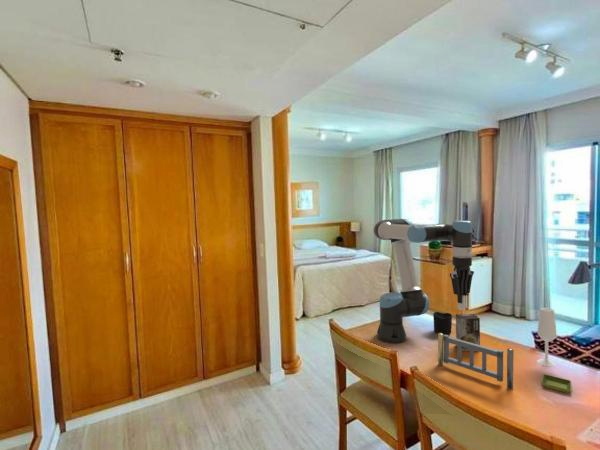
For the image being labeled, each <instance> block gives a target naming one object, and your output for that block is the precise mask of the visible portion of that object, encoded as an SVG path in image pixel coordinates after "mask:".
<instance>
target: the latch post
mask: <svg viewBox="0 0 600 450" xmlns="http://www.w3.org/2000/svg"><path fill="white" fill-rule="evenodd" d="M443 336H444V335H443V334H442V333H437V341H438V342H437V344H438V345H437V347H438V349H437V351H438V355H437V356H438V357H437V358H438V359H437V360H438V361H437V362H438V366H441V367H442V366H444V339H443Z"/></svg>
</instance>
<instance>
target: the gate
mask: <svg viewBox="0 0 600 450" xmlns="http://www.w3.org/2000/svg"><path fill="white" fill-rule="evenodd" d="M450 344H452V345H458V347H457V359H456V358H454V357H450ZM462 347H465V348H468V349H470V351H469V362H466V361H463V360H462V358H463V354H462V353H463V351H462ZM474 350H475V351H474ZM475 352H479V353H481V366H477V365H475V364H474V363H475V358H474V357H475V354H474V353H475ZM487 355H490V356H493V357H496V371H493V370H490V369H487ZM444 363H445V364H452V365H455V366H458V367H460V368H463V369H467V370H469V371H472V372H476V373H479V374H481V375H485V376H488V377H490V378H494V379H496V381H497V382H501V383H502V382H503V381H504V350H503V349H500V348H499V349H494V348H493V347H487V346H484V345H481V344H480V345H477V344H474V343H470V342H467V341H463V340H459V339H456V337H452V336H450V334H449V335H443V364H444Z"/></svg>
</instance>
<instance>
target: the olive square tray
mask: <svg viewBox="0 0 600 450" xmlns="http://www.w3.org/2000/svg"><path fill="white" fill-rule="evenodd" d="M541 379H542V380H541V383H542V385H543V387H545V388H547V389H551V390H556V391H559V392H561V393H562V392H563V393H565V394H567V393H570V392H571V391H572V381H571V380H570V379H567V378H566V379H565V378H563V377H558V376H554V375H549V374H545V373H543V374H542V378H541Z"/></svg>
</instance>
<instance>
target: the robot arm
mask: <svg viewBox="0 0 600 450" xmlns="http://www.w3.org/2000/svg"><path fill="white" fill-rule="evenodd" d="M373 234H374V236H375V237H376V238H377V239H379V240H381V241H390V244H391V245H392V246H394V251H395V256H396V261H397V262H396V263H397V267H398V273H399V278H400V282H401V290H400V291H399V292H396V291H393V292H390V291H389V292H386V293H383V294H381V296H380V297H379V326H378V328H377V331H376V338H377V339H378V340H380V341H382V342H384V343H387V344H388V343H389V344H399V343H403V342H406V341H407V332H406V330H405V327H404V323H403V321H404V320H403V319H404V318H409V317H415V316H417V317H418V316H422V315H425V314H426V313H428V311H429V308H430V299H429V296H428V295H427V294H426V293H425V292H423V288H421V287H420V286H419V284H418V282H419V281H418V278H417V273H416V272H417V271H416V268H415V262H414V258H413V253H412V252H413V251H412V247H411V243H418V244H419V243H426V242H443V241H444V242H445V241H446V242H452V249H451V250H452V253H451V254H452V265H453V266H454V268H453V272H452V273H449V277H450V279H451V286H452V292H453V294H454V295H456V296H457V310H459V311H461V312H462V311H463V312H465V311H467V310H466V309H467V307H466V306H467V305H466V302H467V297H469V295H470V293H471V288H472V280H473V276H474V274H475V272H474V271H473V270H472V269H471V267H472V265H473V257H472V256H473V254H472V253H473V250H472V249H473V248H472V247H473V223H472V222H471V221H470V220H454V221H452V224H449V223H447V224H446V223H436V224H428V225H427V224H423V225H422V224H421V225H419V224H413V222H412V221H410V220H409V219H407V218H396V219H382V220H379V221H377V223H375V225H374V226H373Z"/></svg>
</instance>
